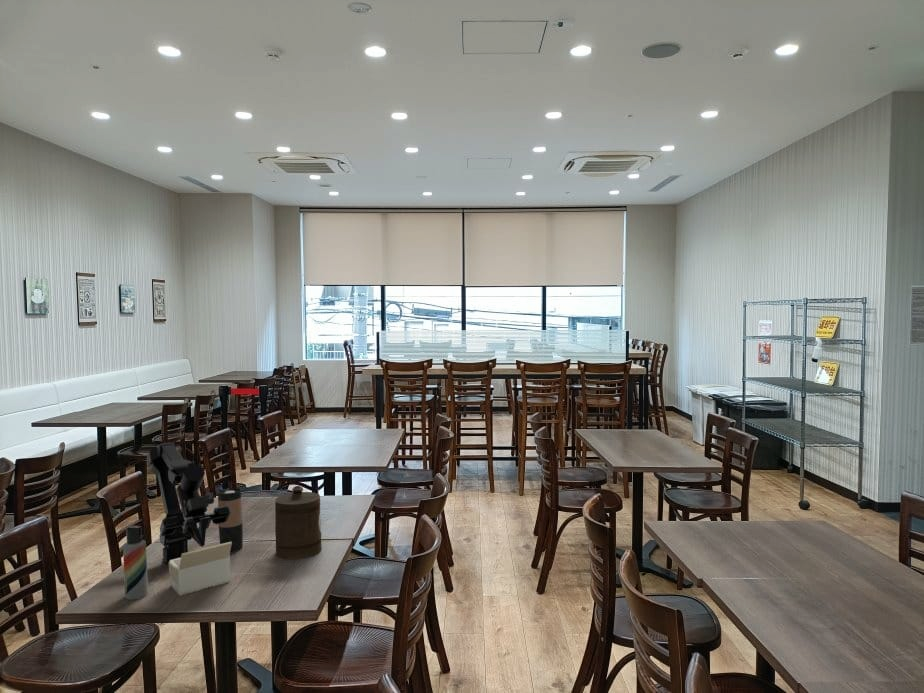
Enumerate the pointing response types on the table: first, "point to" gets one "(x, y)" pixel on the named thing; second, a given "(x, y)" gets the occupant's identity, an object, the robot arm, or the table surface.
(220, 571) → the storage box
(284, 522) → the wooden container
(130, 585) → the lotion bottle
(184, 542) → the robot arm
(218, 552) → the top flap
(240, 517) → the travel mug
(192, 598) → the table surface
